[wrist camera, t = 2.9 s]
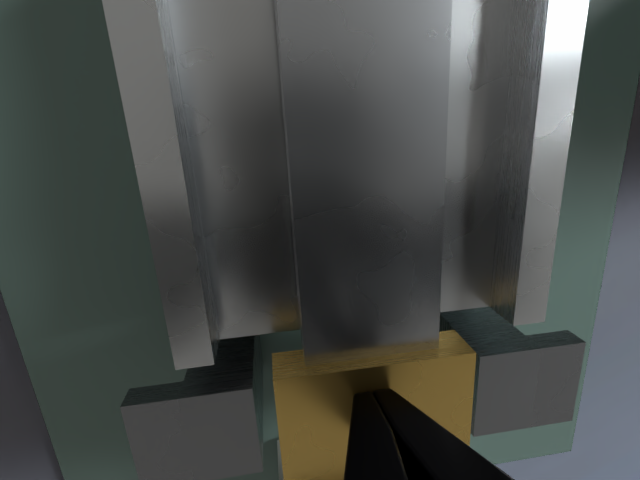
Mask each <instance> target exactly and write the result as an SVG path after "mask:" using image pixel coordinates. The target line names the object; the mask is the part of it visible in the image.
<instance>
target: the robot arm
mask: <svg viewBox="0 0 640 480" xmlns="http://www.w3.org/2000/svg"><path fill="white" fill-rule="evenodd" d="M343 480H514V479H513V478H512V477H510V476H509V475H507V474H506V473H505V472H503V471H502V470H501V469H499V468H498V467H497V466H495V465H494V464H493V463H491V462H490V461H489V460H487V459H486V458H484V457H483V456H482V455H480V454H479V453H478V452H476V451H475V450H474V449H472V448H471V447H470V446H468V445H467V444H466V443H464V442H463V441H461V440H460V439H459V438H457V437H456V436H455V435H453V434H452V433H451V432H449V431H448V430H447V429H445V428H444V427H443V426H441V425H440V424H438V423H437V422H436V421H434V420H433V419H432V418H430V417H429V416H428V415H426V414H425V413H424V412H422V411H421V410H420V409H418V408H417V407H415V406H414V405H413V404H411V403H410V402H409V401H407V400H406V399H405V398H403V397H402V396H401V395H399V394H398V393H397V392H395V391H394V390H392V389H382V390H376V391H374V392H373V393H372V392H362V393H356V394H354V396H353V403H352V411H351V420H350V428H349V437H348V445H347V454H346V462H345V471H344V479H343Z"/></svg>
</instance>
